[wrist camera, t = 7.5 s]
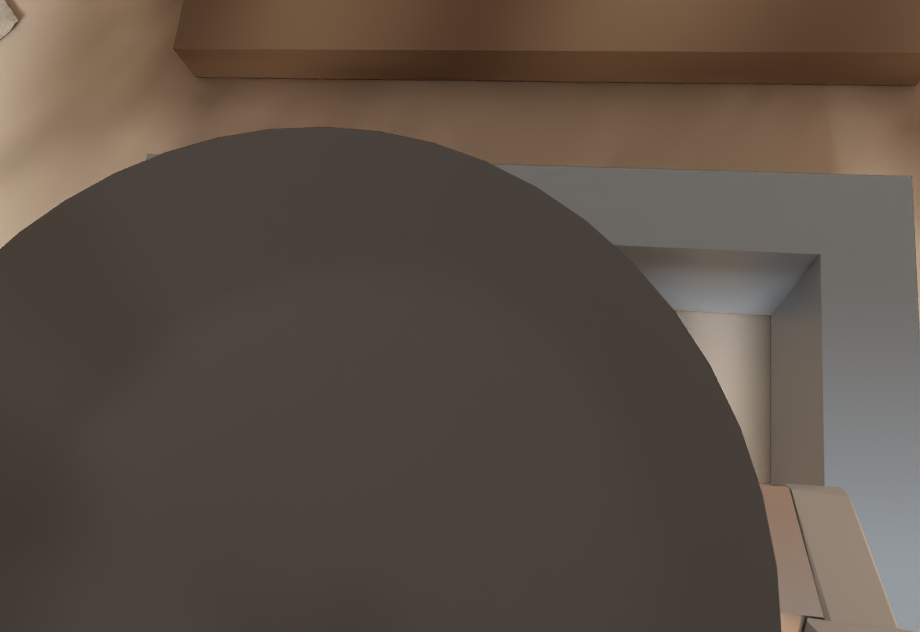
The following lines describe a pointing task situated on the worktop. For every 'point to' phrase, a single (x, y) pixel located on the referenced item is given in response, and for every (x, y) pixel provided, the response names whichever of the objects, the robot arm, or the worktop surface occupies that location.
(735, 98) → the worktop surface
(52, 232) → the plug
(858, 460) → the socket
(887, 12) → the walnut board
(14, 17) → the condiment
